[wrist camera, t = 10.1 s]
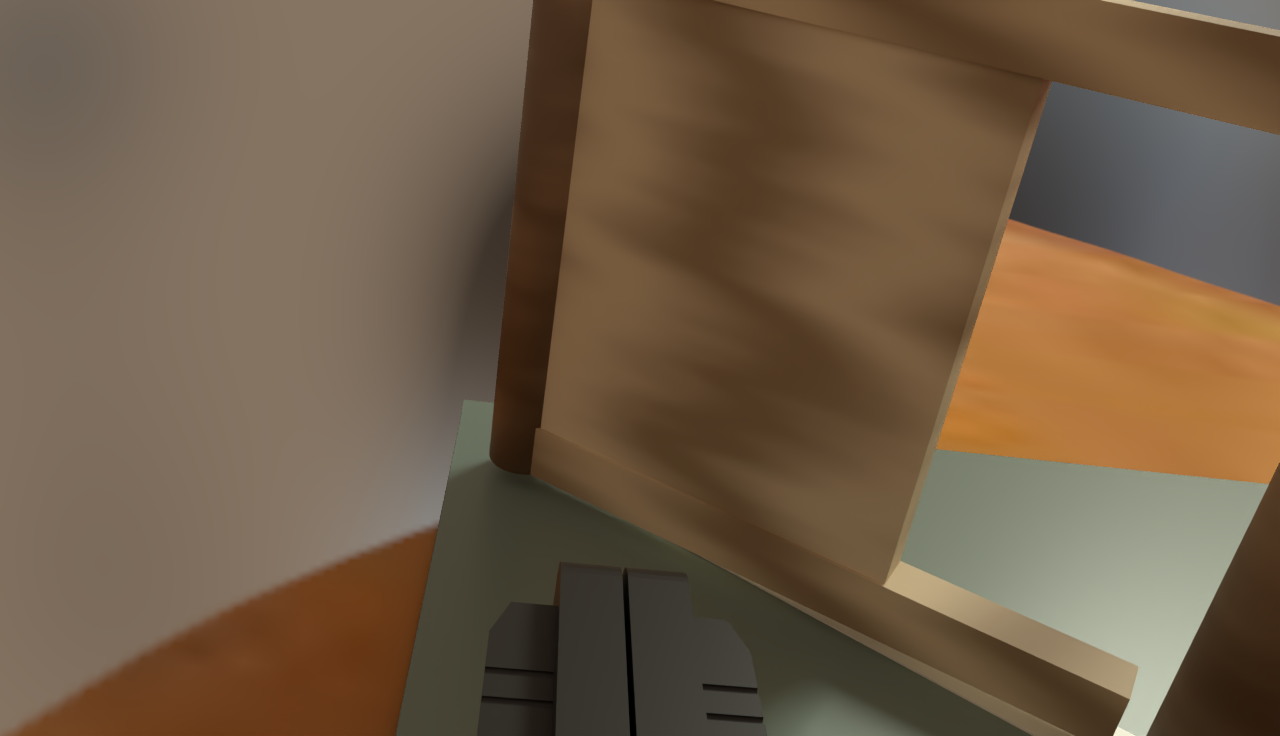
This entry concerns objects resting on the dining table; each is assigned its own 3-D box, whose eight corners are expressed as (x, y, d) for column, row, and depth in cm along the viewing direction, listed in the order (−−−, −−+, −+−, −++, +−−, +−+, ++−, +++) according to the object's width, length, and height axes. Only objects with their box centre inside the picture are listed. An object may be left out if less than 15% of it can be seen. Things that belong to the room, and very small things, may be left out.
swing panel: (1117, 708, 23) (1439, 17, 17) (1103, 759, 22) (1449, 26, 15) (516, 430, 30) (579, -143, 23) (475, 455, 28) (529, -148, 22)
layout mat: (1335, 499, 35) (1340, 490, 35) (2114, 1215, 17) (2131, 1203, 17) (463, 408, 32) (464, 398, 32) (309, 1162, 14) (310, 1146, 14)
